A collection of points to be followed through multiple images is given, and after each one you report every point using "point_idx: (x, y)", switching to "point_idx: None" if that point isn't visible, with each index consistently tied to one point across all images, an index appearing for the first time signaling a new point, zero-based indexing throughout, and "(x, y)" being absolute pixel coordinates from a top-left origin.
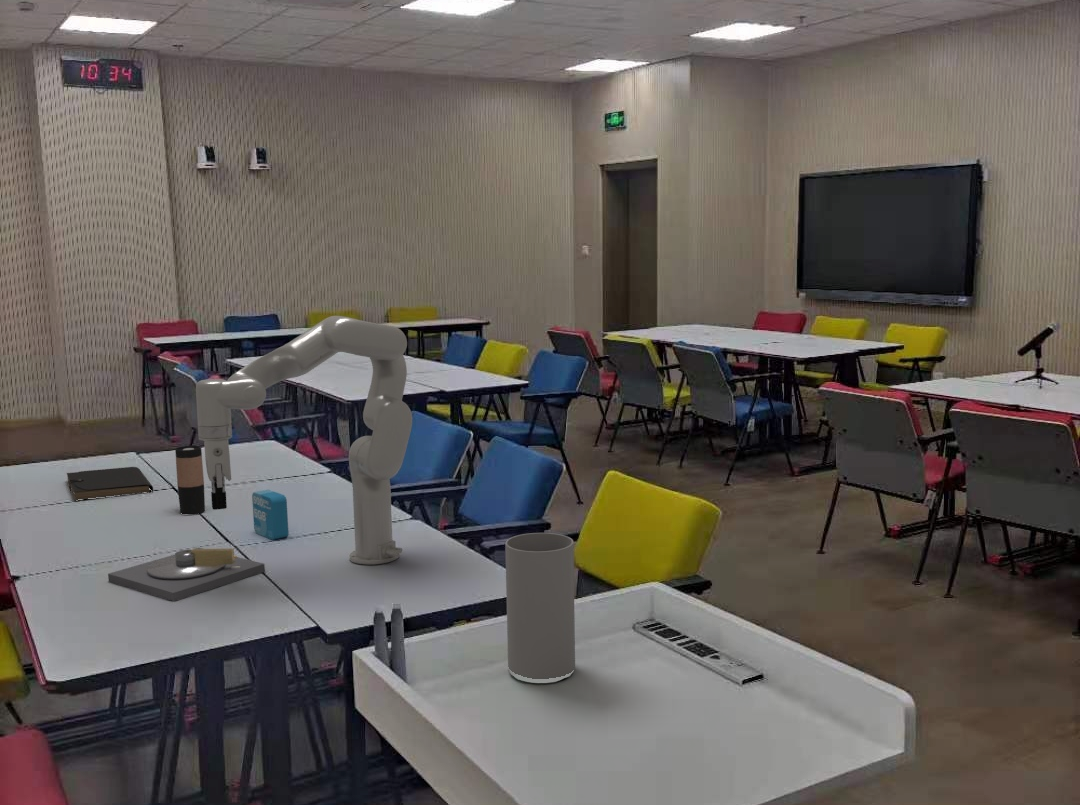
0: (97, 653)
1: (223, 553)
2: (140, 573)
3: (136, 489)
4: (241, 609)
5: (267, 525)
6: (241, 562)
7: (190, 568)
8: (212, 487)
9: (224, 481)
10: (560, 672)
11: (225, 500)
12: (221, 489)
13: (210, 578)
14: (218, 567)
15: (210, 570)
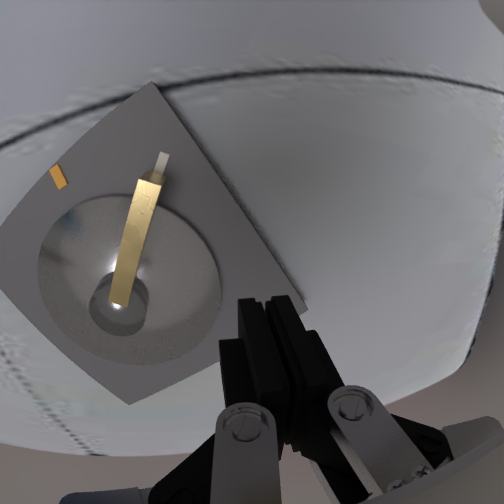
0: (434, 355)
1: (153, 211)
2: (139, 368)
3: None
4: (413, 178)
5: None
6: (110, 148)
7: (167, 287)
8: (322, 483)
9: (431, 469)
10: None
11: (302, 333)
12: (399, 424)
13: (235, 235)
14: (176, 216)
15: (200, 238)
